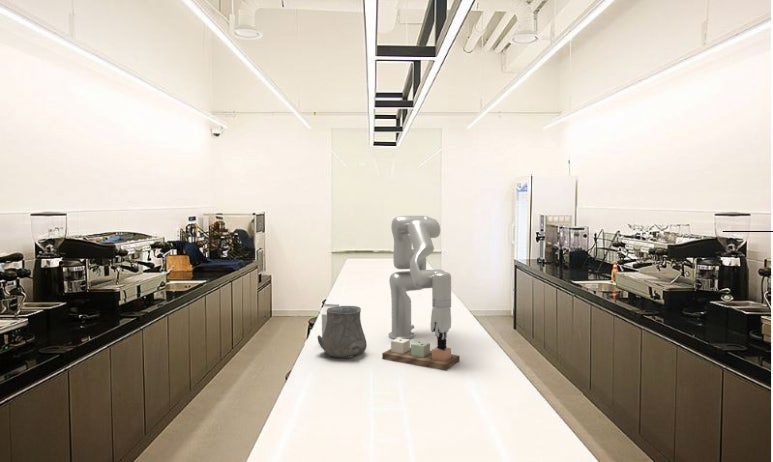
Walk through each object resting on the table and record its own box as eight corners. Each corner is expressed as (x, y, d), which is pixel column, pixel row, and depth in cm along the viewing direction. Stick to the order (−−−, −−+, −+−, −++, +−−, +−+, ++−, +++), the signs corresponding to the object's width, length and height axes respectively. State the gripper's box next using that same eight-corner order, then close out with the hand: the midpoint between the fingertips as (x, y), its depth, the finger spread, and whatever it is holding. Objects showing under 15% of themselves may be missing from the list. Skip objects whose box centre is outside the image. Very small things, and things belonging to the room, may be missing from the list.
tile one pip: (391, 351, 212) (391, 340, 212) (398, 348, 217) (398, 337, 217) (403, 354, 209) (403, 342, 209) (409, 350, 214) (409, 339, 214)
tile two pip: (411, 355, 207) (411, 343, 207) (417, 351, 212) (417, 340, 212) (423, 357, 204) (423, 345, 204) (430, 353, 209) (430, 342, 209)
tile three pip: (431, 360, 202) (431, 349, 202) (438, 357, 207) (438, 345, 207) (445, 363, 199) (445, 351, 199) (451, 359, 204) (451, 347, 204)
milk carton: (337, 347, 227) (336, 306, 225) (322, 347, 228) (321, 305, 227) (341, 343, 234) (341, 302, 232) (327, 342, 235) (326, 302, 234)
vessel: (330, 366, 201) (330, 317, 200) (312, 352, 221) (311, 306, 219) (379, 358, 211) (379, 311, 210) (357, 345, 231) (357, 301, 229)
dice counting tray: (382, 359, 210) (382, 353, 210) (398, 351, 221) (398, 345, 221) (446, 370, 195) (446, 364, 195) (459, 361, 206) (459, 355, 206)
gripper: (441, 299, 210) (441, 342, 211) (424, 305, 197) (425, 351, 198) (457, 301, 206) (457, 345, 207) (442, 307, 193) (442, 354, 194)
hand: (441, 348), depth 203 cm, fingers closed
